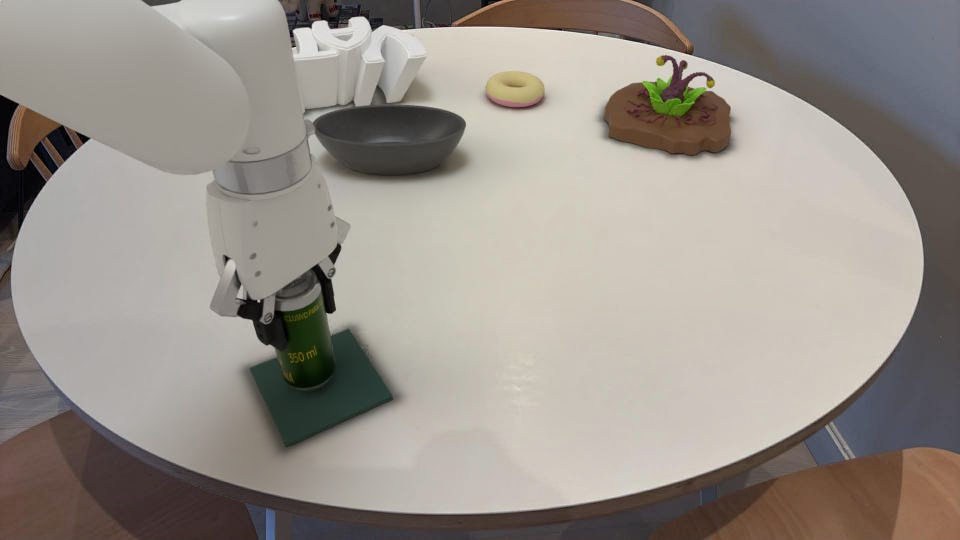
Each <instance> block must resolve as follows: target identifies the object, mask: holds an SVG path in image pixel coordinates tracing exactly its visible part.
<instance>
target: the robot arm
mask: <svg viewBox="0 0 960 540" xmlns="http://www.w3.org/2000/svg"><path fill="white" fill-rule="evenodd" d="M293 54H294V52H293V45H292V40H291V35H290V29H289V24H288V19H287V14H286V11H285V10H284V7H283V5H282V4H281V2H280V1H279V0H180V1H177V2H172V3H167V4H166V3H165V4H159V5H149V4H147V3H146V2H145V1H143V0H0V96H3V97H4V98H6V99H8V100H10V101H13V102H14V103H17V104H19V105H21V106H22V107H25V108H26V109H29V110H31V111H33V112H35V113H37V114H39V115H41V116H43V117H46V118H47V119H49V120H51V121H53V122H56V123H58V124H60V125H62V126H64V127H66V128H68V129H70V130H72V131H74V132H76V133H79V134H81V135H83V136H85V137H87V138H90V139H91V140H93V141H96V142H97V143H99V144H103V145H104V146H107V147H109V148H111V149H113V150H115V151H118V152H119V153H122V154H123V155H126V156H128V157H130V158H132V159H134V160H137V161H138V162H141V163H143V164H144V165H147V166H150V167H151V168H154V169H156V170H159V171H160V172H161V171H162V172H163V173H167V174H172V175H179V176H196V175H201V174H206V173H210V172H211V173H212V176H213V180H212V181H211V182H208V184H207V185H206V188H205V189H206V190H205V203H206V204H205V207H206V208H205V209H206V218H207V219H206V220H207V227H208V233H209V238H210V244H211V249H212V253H213V258H214V262H215V266H216V269H217V274H218V276H219V281H218V284H217V286H216V289H215V291H214V294H213V296H212V298H211V301H210V304H209V309H210V310H211V311H213V312H214V313H215V314H217V315H218V316H220V317H228V318H241V319H242V320H243V319H244V320H248V321H252V325H253V328H254V331H255V335H256V338H257V339H258V341H259V342H260V343H262V344H263V345H265V346H266V347H268V346H271V347H273V348H274V349H275V348H276V349H278V350H279V351H281V352H283V351H284V350H285V349H287V346H288V345H287V341H286V337H285V333H284V329H283V325H282V321H281V318H280V317H279V316H278V315H276V314H274V309H275V296H276V292H277V291H278V290H280V289H281V288H283V287H284V286H286V285H287V284H289V283H290V282H292V281H293V280H295V279H296V278H297V277H299V276H300V275H302V274H303V273H305V272H306V271H308V270H309V269H311V270H312V271H314V272H315V274H316V276H317V279H318V280H319V282H320V284H321V287H322V292H323V298H324V303H325V308H326V314H327V315H332V314H334V313H335V312H336V311H337V307H336V301H335V292H334V287H333V281H332V280H333V278H334V277H335V276H336V273H337V268H336V266H335V264H336V262H337V261H338V258H339V256H340V253H341V251H342V244H344V242H345V240H346V238H347V236H348V235H349V232H350V231H351V224H350V223H349V222H347V221H345V220H344V219H341V218H340V217H338V216H336V214H335V210H334V206H333V201H332V198H331V195H330V191H329V188H328V185H327V182H326V179H325V177H324V174H323V171H322V169H321V167H320V165H319V162H318V161H317V159H316V157H315V155H313V154H312V152H311V149H310V144H309V139H310V137H311V136H312V135H315V134H314V133H315V127H314V125H313V122H312V121H311V120H310V119H308V118H306V119H305V116H304V113H303V110H302V104H301V98H300V93H299V87H298V81H297V75H296V69H295V63H294V58H293ZM241 287H242V298H239V297H238V295H239V292H240V289H241ZM258 300H259V301H258Z"/></svg>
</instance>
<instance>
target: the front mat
mask: <svg viewBox="0 0 960 540" xmlns="http://www.w3.org/2000/svg"><path fill="white" fill-rule="evenodd" d="M331 340H332V345H333V350H334V356H335V361H336V366H335V370H334V373H333V375H332V377H331V379H330V380H329V381H328V382H327V383H326V384H325V385H323V386H321V387H320V388H317V389H314V390H307V391H303V390H297V389H295V388H293V387H291V386H290V385H289V384H287V383H286V381H285V380H284V379H283V377H282V374H281V371H280V367H279V363H278V359H277V356H276V357H274V358H272V359H269V360H267V361H266V360H265V361H264V362H261V363H258V364H256V365H253V366H251V367H250V368H249V370H250V373H251V375H252V377H253V379H254V381H255V383H256V386H257V387H258V390H259V392H260V394H261V396H262V398H263V400H264V402H265V404H266V407H267V409H268V411H269V413H270V415H271V417H272V420H273V422H274V424H275V426H276V428H277V430H278V432H279V434H280V436H281V439H282V441H283V443H284V445H285V447H286V448H287V447H290V446H292V445H294V444H296V443H299V442H301V441H303V440H306V439H308V438H309V437H312V436H314V435H316V434H319V433H321V432H324V431H326V430H327V429H330V428H332V427H334V426H337V425H339V424H341V423H343V422H345V421H347V420H350V419H352V418H354V417H357V416H358V415H361V414H363V413H365V412H367V411H370V410H372V409H373V408H374V409H375V408H376V407H378V406H380V405H383V404H385V403H387V402H389V401H392V400H393V399H394V396H393V394H392V393H391V391H390V390H389V388H388V386H387V385H386V384H385V382H384V381H383V379H382V377H381V376H380V374H379V373H378V371H377V369H376V368H375V366H374V365H373V364H372V362H371V360H370V359H369V357H368V356H367V354H366V353H365V351H364V350H363V348H362V347H361V345H360V344H359V342H358V340H357V339H356V337H355V336H354V335H353V333H352V331H351V330H350V329H349V328H346V329H344V330H342V331H339V332H337V333H334V334H332V335H331Z"/></svg>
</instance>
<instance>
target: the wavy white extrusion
mask: <svg viewBox="0 0 960 540" xmlns="http://www.w3.org/2000/svg"><path fill="white" fill-rule="evenodd" d="M371 27H372V26H371V25H370V22H369V20H368V19H367V18H366V17H365V16H354V17H351V18H350V19H348V26H347V27H341V28H330V26H329V22H328V21H326V20H317V21H313V22H312V24H311V28H310V27H298V28H294V29H293V30H292V34H293V38H294V44H295V48H296V52H297V53H293V58H294V63H295V69H296V75H297V81H298V87H299V93H300V98H301V104H302V110H303V114H305V113H306V110H311V109H321V108H327V107H334V106H337V105H341V106H346V105H348V104H349V103H351V102H353V103H354V106H355V107H357V106H366V105H371V103H372V101H373V97H374V95H375V92H376V89H377V86H378V87H379V88H380V89H381V91H382V92H383V94H384V96H385V100H386V104H393V103H394V104H395V103H398V102H399V103H400V102H401V101H402V100H403V97H404V96H405V94H406V92H407V91H408V90H409V87H410V86H411V84H412V82H413V81H414V79H415V78H416V77H417V74H418V73H419V71H420V69H421V67H422V65H423V64H424V62H425V61H426V59H427V57H428V52H427V49H426V47H425V46H424V44H423V43H422V42H421V41H420V39H418V38H416V37H415V36H414V35H412V34H410V33H409V32H406V31H404V30H402V29H400V28H396V27H393V26H390V25H384V24H383V25H381V26H379V27H377V28H376V29H375V30H373V29H372V28H371Z"/></svg>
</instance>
